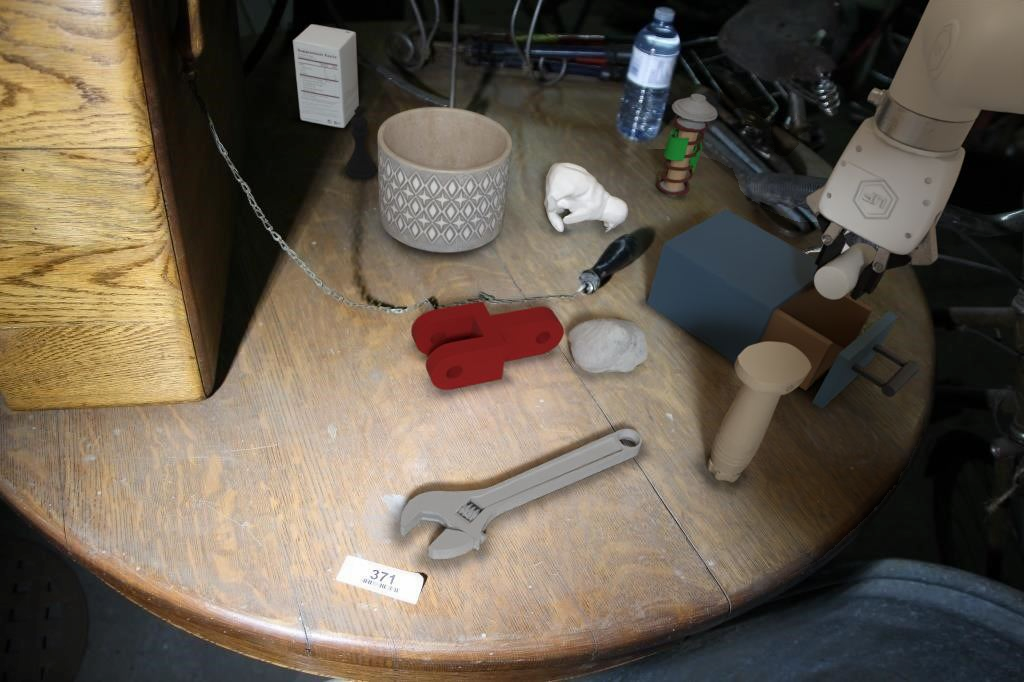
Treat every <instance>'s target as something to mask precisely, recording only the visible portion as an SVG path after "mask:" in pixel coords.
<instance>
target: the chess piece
mask: <svg viewBox="0 0 1024 682" xmlns="http://www.w3.org/2000/svg"><path fill="white" fill-rule="evenodd" d="M362 111H363V106H360V105H359V106H357V108H356V109H355V111H354V112H355V114H354V116H353V117H352V118H351V120H350V125H351V128H352V129H351V131H350V134H351V136H352V137H353V140H354V150H353V152H352V154H351V156H350V158H349V160H348V161H347V163H346V166H345V168H344V171H345V173H346V175H347V176H348V177H350V178H352V179H356V180H366V179H367V180H368V179H371V178H373V177H375V176H376V174H377V171H378V169H377V166H376V165H375V163H374V161H373V159H372V158H371V156H370V154H369V152H368V151H367V148H366V139H367V137H368V134H369V130H368V129H367V128H368V124H369V122H368V119H367V118H366V117H365V115H363V114H362Z"/></svg>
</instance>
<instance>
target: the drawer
mask: <svg viewBox="0 0 1024 682" xmlns="http://www.w3.org/2000/svg"><path fill="white" fill-rule="evenodd" d="M850 295H851V294H849V293H847V294H846V295H845V296H843V297H842V298H840V299H828V298H826V297H824V296H822V295H821V294H820V293H819V292H818V291H817V289H816V287H815V284H814V283H812V284H811V285H810V286H808V287H807V288H806V289H804V290H803V291H802V292H800V293H799V294H797V295H796V296H795V297H793V298H792V299H791V300H789V301H788V302H786V303H785V304H784V305H782V306H781V307H780V308H778V309H777V310H775V311H774V312H773V315H772V317H771V319H770V321H769V324H768V326H767V328H766V330H765V333H764V335H763V337H762V340H761V342H782V343H788V344H790V345H792V346H794V347H796V348H797V349H799V350H800V351H801V352H802V353H803V354H804V355H805V356H806V357H807V358H808V360H809V361H810V364H811V370H810V372H809V373H808V375H807V377H806V378H805V379H804V381H803V382H802V383H801V384H800V385H799V386H798V388H799V387H800V388H801V389H802V390H804V391H807V390H808V389H809V388H811V387H812V386H813V385H814V384H815V383H816V382H818V381H819V380H820V379H821V378H822V377H823V376H824V375H825V374H827V375H826V376H825V378H824V380H823V381H822V384H821V385H820V387H819V389H818V391H817V393H816V394H815V396H814V398H813V400H812V404H813V405H815V406H817V407H818V408H820V409H821V410H822V409H823V408H825V407H826V406H827V405H828V404H829V403H830V402H831V401H833V399H834V398H836V396H838V394H840V393H841V392H842V391H843V390H845V388H846V387H847V386H849V385H850V384H851V383H852V382H853V381H854V380H855V379H856V378H857V377H858V376H859V375H860V376H861V377H862V378H864V379H866V380H867V381H869V382H871V383H872V384H874V385H875V386H877V387H879V388H880V390H881V393H882V394H883V395H884V396H885V397H887V398H893V397H895V395H897V394H898V392H899V391H900V390H901V389H902V388H903V387H904V386H905V385H906V384H907V383H908V382H909V381H910V380H911V379H912V378H913V377H914V376H915V375H916V374H917V373H918V372H919V371H920V369H921V368H920V364H919V363H918V362H917V361H915V360H908V361H907V360H905V359H904V358H902V357H900V356H898V355H897V354H895V353H893V352H892V351H891V350H889V349H887V348H885V347H883V343H884V342H885V341H886V338H887V337H888V335H889V334H890V332H891V330H892V328H893V327H894V325H895V323H896V322H897V320H898V318H899V315H897V314H895V313H894V312H891V311H890V310H887V311H886V312H885V313H884V314H883V315H882V316H880V317H879V318H878V319H877V320H876V321H875V322H874V323H872V324H871V325H870V326H869V327H868V328H866V329H865V330H864V331H863V328H864V327H865V325H866V324H867V322H868V319H869V317H870V316H871V314H872V312H873V310H874V308H873V307H872V306H870V305H868V304H867V303H865V302H864V301H861V300H860V299H859V298H858V299H857V300H856V301H855V300H854V299H852V298H851V296H850ZM862 331H863V332H862ZM861 332H862V333H861ZM860 333H861V334H860ZM761 342H760V343H761ZM877 353H878V354H879V355H881V356H882V357H884V358H886V359H887V360H889V361H891V362H893V363H894V364H896V365H898V366H899V367H900V368H899V369H898V370H897V371H895V373H894V374H893V375H892V376H891V377H889V379H888V380H887V381H886V380H884V379H882V378H880V377H879V376H877V375H876V374H874V373H873V372H871V371H869V370H868V369H867V368H868V367H869V366H870V365H871V364H872V362H873V360H874V359H875V357H876V355H877ZM827 372H828V373H827Z"/></svg>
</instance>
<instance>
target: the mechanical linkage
mask: <svg viewBox="0 0 1024 682" xmlns="http://www.w3.org/2000/svg"><path fill="white" fill-rule="evenodd" d="M410 333H411V337H412V340H413V342H414V344H415V346H416V348H417V350H418V351H419V352H420V353H421V354H422V355H427V356H428V357H427V358H426V362H425V369H426V372H427V374H428V377H429V379H430V381H431V383H432V385H433V386H434V387H435V388H437V389H439V390H444V391H451V390H457V389H461V388H466V387H470V386H475V385H480V384H484V383H485V384H486V383H490V382H494V381H499V380H502V379H503V375H504V367H505V362H510V361H516V360H521V359H525V358H531V357H535V356H540V355H544V354H546V353H548V352H550V351H552V350H554V349H555V348H556V347H557V346H558V345H559V344H560V342H561V341H562V340H563V338H564V334H565V328H564V326H563V324H562V322H561V321H560V320H559V318H558V317H557V315H556V314H555V312H554V310H553V309H552V308H550V307H548V306H535V307H528V308H523V309H518V310H511V311H506V312H501V313H495V314H490V312H489V310H488V308H487V307H486V305H485V303H484V301H483V300H482V301H476V302H470V303H465V304H459V305H453V306H448V307H447V306H446V307H442V308H436V309H435V308H434V309H431V310H428V311H426V312H423V313H422V314H421V315H419V316H418V317H417V318H416V319H415V320H414V322H413V324H412V325H411V328H410Z"/></svg>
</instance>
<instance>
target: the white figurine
mask: <svg viewBox="0 0 1024 682" xmlns="http://www.w3.org/2000/svg"><path fill="white" fill-rule="evenodd" d="M544 183H545V198H544V202H543V205H544V208H545V211H546V215H547V218H548V220H549V223H550V224H551V226H552V227H553V228H554V229H555V230H556V231H557V232H558V233H562V232H564V229H565V225H571V224H572V225H573V224H576V223H577V224H578V223H581V222H584V221H602V222H603V226H604V227H605V233H607V232H609V231H611V230H612V229H615V228H617V226H619V225H620V224H622V223H624V222H625V221H626V220H627V218H628V214H629V208H628V205H627V203H626V202H625V201H624V200H623V199H621V198H619V197H616V196H614V195H611V194H610V193H609V192H608V191H607V190H606V189H605V188H604V186H603V184H601V183H600V182H598V180H597V178H596V177H595V176H594V175H592V174H591V173H590V172H589V171H587V169H585V168H584V167H582V166H581V165H578V164H575V163H571V162H556V163H553V164H552V165H551V166H550V167H549V170H548V172H547V174H546V177H545V182H544ZM565 210H568V211H569V212H570V213H569V214H568V215H565V216H563V218H562V217H561V216H560V215H559V214H563V213H564V212H565Z"/></svg>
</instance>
